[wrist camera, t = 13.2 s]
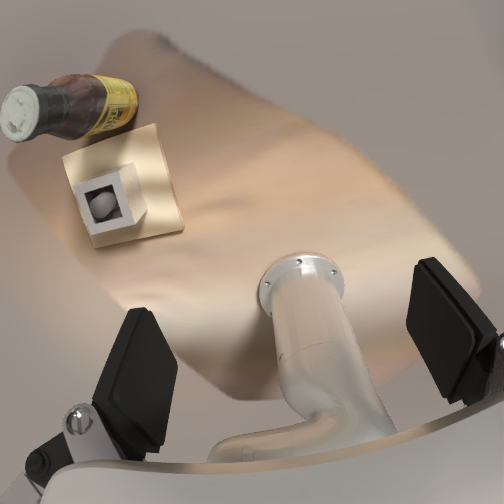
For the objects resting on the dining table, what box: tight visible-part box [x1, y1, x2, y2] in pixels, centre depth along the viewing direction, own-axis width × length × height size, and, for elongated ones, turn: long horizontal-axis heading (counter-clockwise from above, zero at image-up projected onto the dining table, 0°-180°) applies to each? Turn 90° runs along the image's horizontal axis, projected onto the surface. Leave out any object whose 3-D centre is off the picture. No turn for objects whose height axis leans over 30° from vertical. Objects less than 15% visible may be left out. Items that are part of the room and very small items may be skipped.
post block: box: [62, 123, 184, 249], centre depth 33 cm, size 14×14×7 cm
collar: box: [73, 161, 148, 235], centre depth 33 cm, size 6×6×5 cm
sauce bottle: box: [0, 74, 139, 143], centre depth 22 cm, size 6×6×20 cm
